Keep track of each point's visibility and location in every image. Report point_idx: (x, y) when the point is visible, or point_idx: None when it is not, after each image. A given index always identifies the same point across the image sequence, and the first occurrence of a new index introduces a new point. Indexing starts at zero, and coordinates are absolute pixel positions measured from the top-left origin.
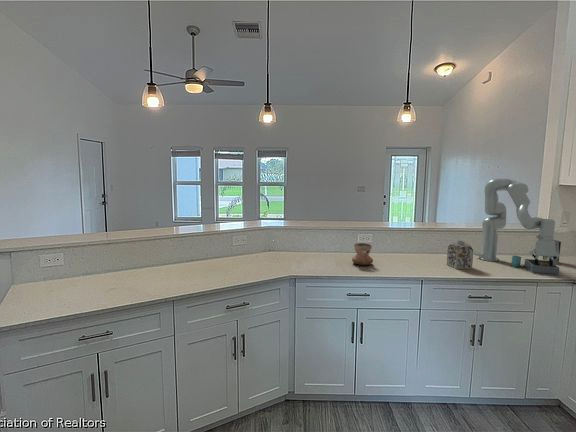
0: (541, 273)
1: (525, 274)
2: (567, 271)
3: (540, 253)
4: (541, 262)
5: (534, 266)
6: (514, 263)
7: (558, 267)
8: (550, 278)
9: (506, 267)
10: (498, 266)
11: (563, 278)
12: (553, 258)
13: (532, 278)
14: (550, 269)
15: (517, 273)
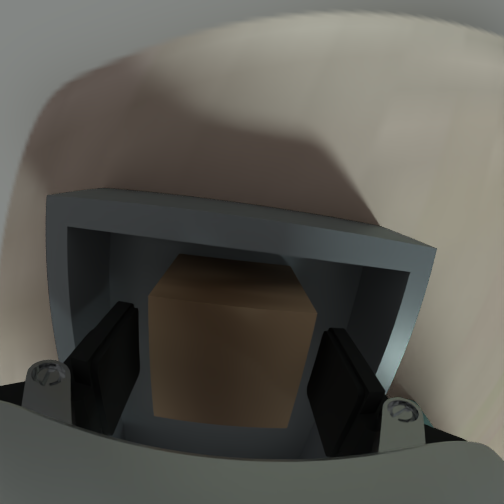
0: (284, 210)
1: (456, 152)
2: (14, 364)
3: (448, 501)
4: (240, 409)
5: (406, 241)
6: (429, 421)
7: (51, 215)
8: (263, 29)
9: (473, 362)
10: (499, 365)
11: (110, 73)
12: (26, 387)
13: (435, 28)
14: (172, 203)
15: (496, 180)
